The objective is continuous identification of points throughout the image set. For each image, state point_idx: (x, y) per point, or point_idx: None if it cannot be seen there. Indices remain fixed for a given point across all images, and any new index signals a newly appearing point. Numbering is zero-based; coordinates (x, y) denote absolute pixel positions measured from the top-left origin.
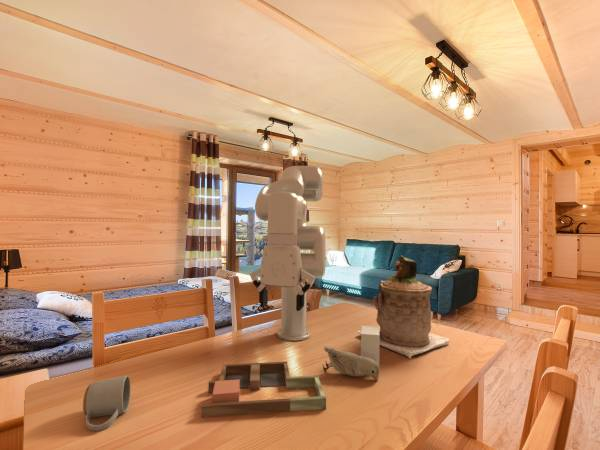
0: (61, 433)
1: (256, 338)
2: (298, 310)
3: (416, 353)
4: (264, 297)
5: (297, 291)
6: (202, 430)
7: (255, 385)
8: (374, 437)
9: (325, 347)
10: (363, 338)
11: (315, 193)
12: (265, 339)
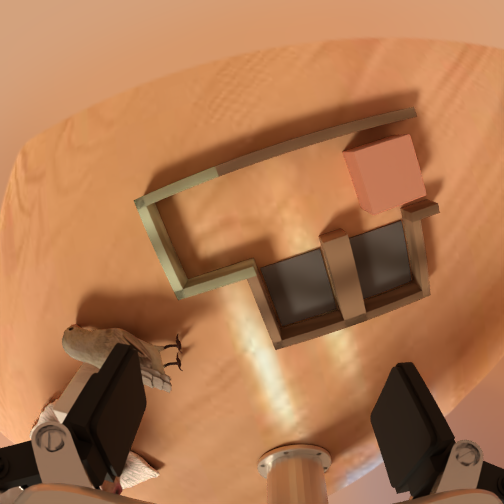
0: None
1: (373, 434)
2: (120, 344)
3: (47, 406)
4: (406, 426)
5: (76, 455)
6: (381, 72)
7: (331, 236)
8: (56, 140)
9: (167, 384)
10: None
11: None
12: (353, 436)
